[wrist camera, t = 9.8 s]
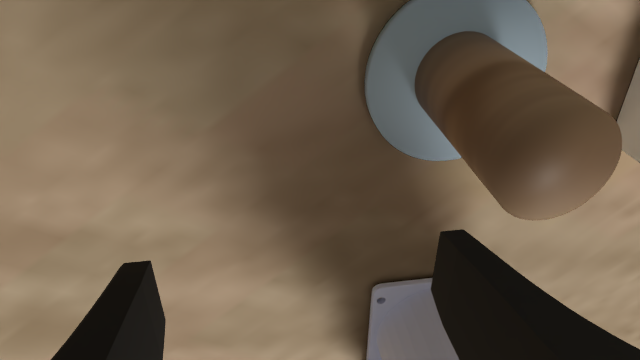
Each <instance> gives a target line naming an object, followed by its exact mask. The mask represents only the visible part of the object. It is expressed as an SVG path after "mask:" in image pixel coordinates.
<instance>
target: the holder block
mask: <svg viewBox="0 0 640 360" xmlns="http://www.w3.org/2000/svg"><path fill="white" fill-rule="evenodd" d="M617 124H618V126H619V127H620V131H621V134H622V151H624V152H625V153H626V154H628V155H629V156H631V157H632V158H634V159H635V160H636V161H638V162H639V163H640V59H639V62H638V65H637V67H636V70H635V73H634V76H633V78H632V81H631V84H630V87H629V89H628V92H627V95H626V97H625V100H624V103H623V106H622V108H621V111H620V114H619V117H618V119H617Z"/></svg>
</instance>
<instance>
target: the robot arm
mask: <svg viewBox="0 0 640 360" xmlns="http://www.w3.org/2000/svg"><path fill="white" fill-rule="evenodd" d="M381 297H382V298H381ZM379 298H381V299H379ZM164 335H165V316H164V312H163V308H162V304H161V300H160V296H159V292H158V288H157V284H156V280H155V276H154V272H153V268H152V264H151V261H141V262H131V263H124V264H123V265H122V266H121V267H120V268H119V270H118V271H117V273H116V274H115V275H114V277H113V278H112V280H111V281H110V283H109V284H108V286H107V287H106V288H105V290H104V291H103V293H102V294H101V296H100V297H99V298H98V300H97V301H96V303H95V304H94V305H93V307H92V308H91V309H90V311H89V312H88V313H87V315H86V316H85V317H84V319H83V320H82V321H81V323H80V324H79V325H78V327H77V328H76V329H75V331H74V332H73V333H72V335H71V336H70V337H69V338H68V340H67V341H66V342H65V343H64V345H63V346H62V347H61V348H60V349H59V351H58V352H57V353H56V354H55V355H54V357H53V358H52V359H51V360H163V349H164ZM366 360H640V349H638V348H636V347H634V346H632V345H630V344H628V343H626V342H625V341H623V340H621V339H619V338H617V337H616V336H614V335H612V334H610V333H609V332H607V331H605V330H604V329H602V328H600V327H598V326H597V325H595V324H593V323H592V322H590V321H588V320H587V319H585V318H583V317H582V316H580V315H579V314H577V313H575V312H574V311H572V310H571V309H569V308H568V307H566V306H565V305H563V304H562V303H560V302H559V301H557V300H556V299H554V298H553V297H552V296H550V295H549V294H547V293H546V292H544V291H543V290H542V289H540V288H539V287H537V286H536V285H535V284H533V283H532V282H530V281H529V280H528V279H526V278H525V277H524V276H522V275H521V274H520V273H518V272H517V271H516V270H515V269H513V268H512V267H511V266H509V265H508V264H507V263H505V262H504V261H503V260H502V259H500V258H499V257H498V256H497V255H495V254H494V253H493V252H492V251H490V250H489V249H488V248H486V247H485V246H484V245H483V244H481V243H480V242H479V241H478V240H476V239H475V238H474V237H473V236H471V235H470V234H469V233H467V232H466V231H465V230H453V231H443V232H440V238H439V243H438V249H437V255H436V261H435V267H434V273H433V278H426V279H417V280H408V281H399V282H390V283H381V284H377V285H376V286H374V287H373V289H372V294H371V307H370V319H369V332H368V344H367V357H366Z"/></svg>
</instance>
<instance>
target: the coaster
mask: <svg viewBox="0 0 640 360" xmlns="http://www.w3.org/2000/svg"><path fill="white" fill-rule="evenodd" d="M463 31H475V32H480V33H483V34H485V35H487V36H489V37H490V38H492V39H494V40H495V41H497V42H498V43H500V44H501V45H503V46H505V47H506V48H508V49H509V50H511V51H512V52H514V53H515V54H517V55H519V56H520V57H522V58H523V59H525V60H526V61H528V62H529V63H531V64H533V65H534V66H536V67H537V68H539V69H540V70H542V71H543V72H545V70H546V65H547V40H546V35H545V31H544V28H543V25H542V22H541V20H540V18H539V16H538V15H537V13H536V11H535V10H534V9H533V7H532V6H531V5H530V4H529V3H528V1H526V0H410V1H408V2H407V3H406V4H405V5H404V6H402V7H401V8H400V9H399V10H398V11H397V12H396V13H395V14H394V15H393V16H392V18H391V19H390V20H389V21H388V22H387V23H386V25H385V26H384V28H383V29H382V31H381V32H380V34H379V35H378V37H377V39H376V41H375V43H374V45H373V47H372V50H371V53H370V55H369V58H368V62H367V66H366V72H365V80H364V84H365V98H366V103H367V107H368V110H369V113H370V115H371V117H372V119H373V121H374V123H375V125H376V127H377V128H378V130H379V131H380V133H381V134H382V136H383V137H384V138H385V139H386V140H387V141H388V142H389V143H390V144H391V145H392V146H394V147H395V148H396V149H398V150H399V151H401V152H403V153H405V154H407V155H410V156H412V157H415V158H419V159H423V160H430V161H447V160H454V159H459V158H462V157H461V156H460V154H459V153H458V152H457V151H456V149H455V148H454V147H453V146H452V144H451V143H450V142H449V141H448V139H447V138H446V137H445V136H444V135H443V133H442V132H441V131H440V130H439V128H438V127H437V126H436V125H435V123H434V122H433V121H432V120H431V118H430V117H429V116H428V115H427V113H426V112H425V111H424V110H423V108H422V107H421V106H420V104H419V102H418V100H417V98H416V94H415V77H416V72H417V69H418V67H419V65H420V62H421V61H422V59H423V57H424V56H425V55H426V53H427V52H428V51H429V50H430V49H431V48H432V47H433V46H434V45H435V44H436V43H437V42H439V41H440V40H442V39H443V38H445V37H447V36H449V35H452V34H455V33H458V32H463Z"/></svg>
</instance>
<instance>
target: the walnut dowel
mask: <svg viewBox="0 0 640 360" xmlns="http://www.w3.org/2000/svg"><path fill="white" fill-rule="evenodd" d="M415 94H416V98H417V100H418V102H419V104H420V106H421V107H422V108H423V110H424V111H425V112H426V113H427V115H428V116H429V117H430V118H431V120H432V121H433V122H434V123H435V125H436V126H437V127H438V128H439V130H440V131H441V132H442V133H443V135H444V136H445V137H446V138H447V139H448V141H449V142H450V143H451V144H452V146H453V147H454V148H455V149H456V151H457V152H458V153H459V154H460V156H461V157H462V158H463V159H464V161H465V162H466V163H467V164H468V166H469V167H470V168H471V169H472V171H473V172H474V173H475V174H476V176H477V177H478V178H479V179H480V180H481V182H482V183H483V184H484V185H485V187H486V188H487V189H488V190H489V192H490V193H491V194H492V195H493V197H494V198H495V199H496V200H497V202H498V203H499V204H500V205H501V207H502V208H503V209H504V210H505V211H506V212H508V213H509V214H511V215H513V216H515V217H517V218H520V219H525V220H546V219H551V218H555V217H558V216H561V215H564V214H566V213H568V212H570V211H572V210H574V209H576V208H578V207H579V206H581V205H582V204H584V203H585V202H587V201H588V200H589V199H591V198H592V197H593V196H594V195H595V194H596V193H597V192H598V191H599V190H600V189H601V188H602V187H603V186H604V185H605V184H606V182H607V181H608V180H609V178H610V177H611V175H612V173H613V172H614V170H615V168H616V166H617V164H618V161H619V158H620V155H621V150H622V134H621V131H620V127H619V126H618V124H617V122H616V121H615V119H614V118H613V117H612V116H611V115H610V114H609V113H607V112H606V111H604V110H603V109H601V108H600V107H598V106H596V105H595V104H593V103H592V102H590V101H589V100H587V99H585V98H584V97H582V96H581V95H579V94H578V93H576V92H575V91H573V90H571V89H570V88H568V87H567V86H565V85H564V84H562V83H561V82H559V81H557V80H556V79H554V78H553V77H551V76H550V75H548V74H547V73H545V72H543V71H542V70H540V69H539V68H537V67H536V66H534V65H533V64H531V63H529V62H528V61H526V60H525V59H523V58H522V57H520V56H519V55H517V54H515V53H514V52H512V51H511V50H509V49H508V48H506V47H505V46H503V45H501V44H500V43H498V42H497V41H495V40H494V39H492V38H490V37H489V36H487V35H485V34H483V33H480V32H475V31H463V32H458V33H455V34H452V35H449V36H447V37H445V38H443V39H442V40H440V41H439V42H437V43H436V44H435V45H434V46H433V47H432V48H431V49H430V50H429V51H428V52H427V53H426V55H425V56H424V57H423V59H422V61H421V62H420V65H419V67H418V69H417V72H416V77H415Z"/></svg>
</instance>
